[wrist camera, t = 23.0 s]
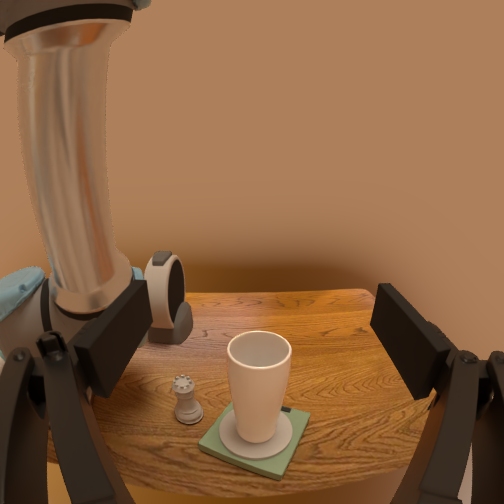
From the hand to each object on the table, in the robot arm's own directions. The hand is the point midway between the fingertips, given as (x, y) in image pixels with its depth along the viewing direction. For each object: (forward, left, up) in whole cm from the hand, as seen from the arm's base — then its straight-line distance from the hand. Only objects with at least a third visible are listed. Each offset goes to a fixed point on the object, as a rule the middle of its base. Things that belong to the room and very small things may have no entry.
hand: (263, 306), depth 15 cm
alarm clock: (-34, +27, -28) cm, 52 cm away
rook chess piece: (-15, +8, -28) cm, 33 cm away
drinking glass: (-4, +9, -25) cm, 27 cm away
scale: (-4, +9, -28) cm, 30 cm away
